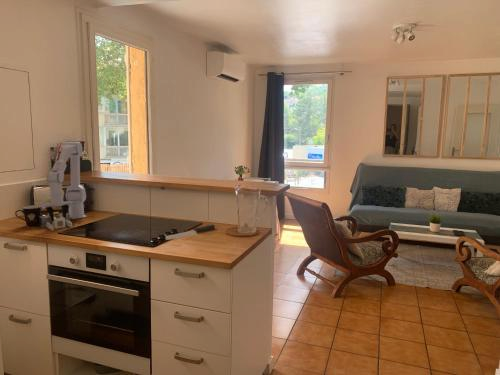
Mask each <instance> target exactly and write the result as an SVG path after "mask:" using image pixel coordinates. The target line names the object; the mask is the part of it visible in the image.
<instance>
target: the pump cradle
mask: <svg viewBox="0 0 500 375" xmlns="http://www.w3.org/2000/svg"><path fill="white" fill-rule="evenodd" d="M65 226H67V227H68V228H73V222H71V220H70V221H68V220H65ZM45 228H47V229H49V230H50V231H55V228H54V226H53V225H52V224H50V223H49V222H46V227H45Z"/></svg>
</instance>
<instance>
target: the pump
mask: <svg viewBox="0 0 500 375" xmlns="http://www.w3.org/2000/svg"><path fill="white" fill-rule="evenodd" d="M52 225H53V226H54V230H55V229H56V230H57V229H60V228H61V229H63V228H66V225H65V218H64V217H63V216H60V215H58V216H56V217H54V221H52Z"/></svg>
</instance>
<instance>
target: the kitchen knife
mask: <svg viewBox="0 0 500 375" xmlns="http://www.w3.org/2000/svg"><path fill="white" fill-rule="evenodd" d="M215 227H216V225H215V224H207V225H202V226H198V227H194V228H193V229H191V230H188V231H185V232H184V231H183V232H179V233H175V234H174V233H173V234H168V235H166V236H165V240H166V241H167V240H168V241H169V240H174V239H181V238H185V237H190V236H195V235H196V236H197V235H198V234H199V233H203V232H207V231H210V230H211V231H212V230H215Z"/></svg>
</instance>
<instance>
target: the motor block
mask: <svg viewBox="0 0 500 375" xmlns="http://www.w3.org/2000/svg"><path fill="white" fill-rule="evenodd" d="M58 215H60V216H63V214H62V212H59V211H55V212H54V211H53V217H56V216H58ZM65 220H68V221H70V222H71V218H70V214H69V212H67V214H66V219H65ZM46 222H49V223H50V224H52V221H51V218H50V215H49V213H48V212H47V214H41V216H39V226H38V227H40V226H41V229H43V228H47V227H46Z"/></svg>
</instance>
